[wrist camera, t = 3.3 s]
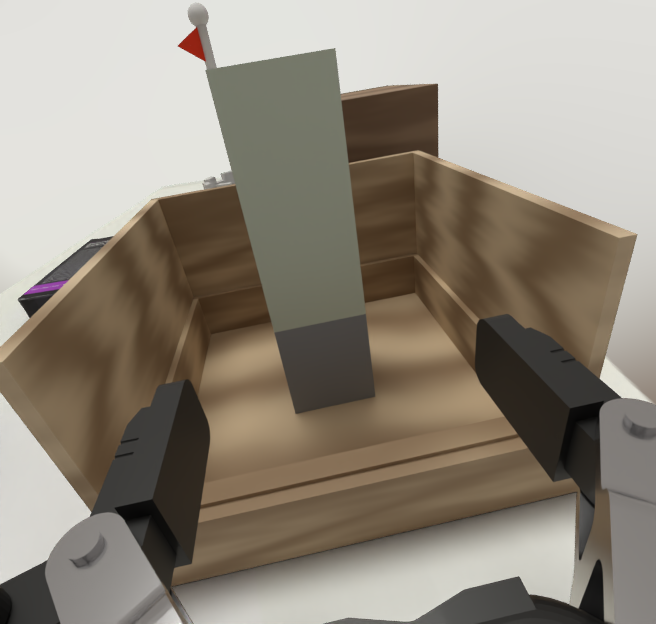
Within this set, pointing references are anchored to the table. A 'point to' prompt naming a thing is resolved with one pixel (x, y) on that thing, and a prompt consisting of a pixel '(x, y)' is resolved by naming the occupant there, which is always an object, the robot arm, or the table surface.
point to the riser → (391, 121)
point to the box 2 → (300, 218)
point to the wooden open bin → (268, 373)
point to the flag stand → (202, 49)
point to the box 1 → (59, 276)
